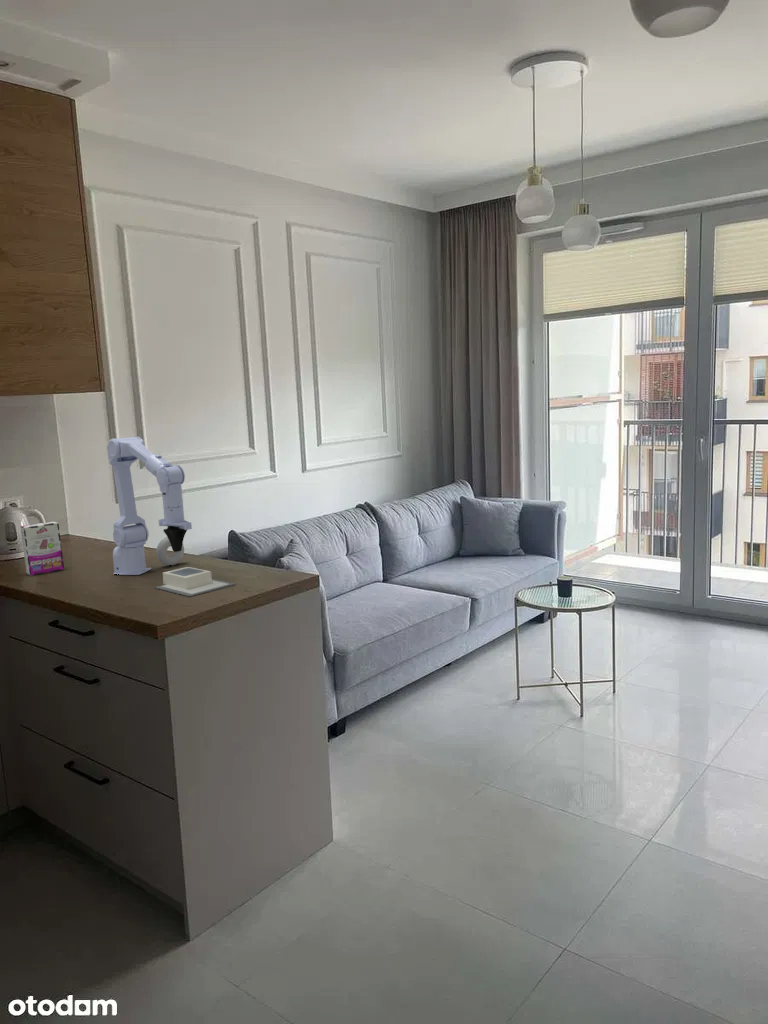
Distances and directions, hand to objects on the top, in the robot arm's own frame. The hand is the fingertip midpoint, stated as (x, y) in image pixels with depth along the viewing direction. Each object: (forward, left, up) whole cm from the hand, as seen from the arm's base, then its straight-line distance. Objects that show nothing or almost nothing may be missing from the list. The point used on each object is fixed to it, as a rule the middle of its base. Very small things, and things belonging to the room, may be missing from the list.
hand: (177, 551), depth 230 cm
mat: (+7, -4, -10) cm, 13 cm away
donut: (-15, +23, -10) cm, 29 cm away
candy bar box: (-56, +13, -10) cm, 58 cm away
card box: (-2, +1, -8) cm, 8 cm away
